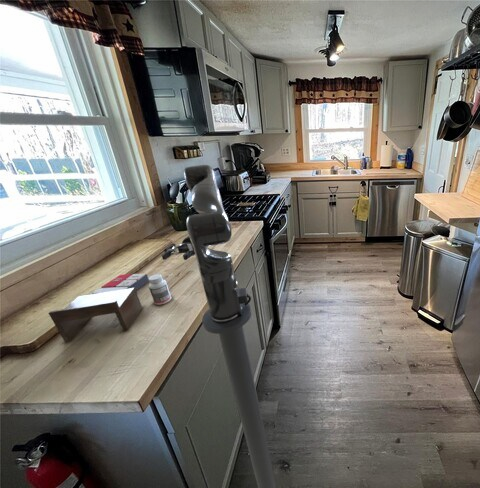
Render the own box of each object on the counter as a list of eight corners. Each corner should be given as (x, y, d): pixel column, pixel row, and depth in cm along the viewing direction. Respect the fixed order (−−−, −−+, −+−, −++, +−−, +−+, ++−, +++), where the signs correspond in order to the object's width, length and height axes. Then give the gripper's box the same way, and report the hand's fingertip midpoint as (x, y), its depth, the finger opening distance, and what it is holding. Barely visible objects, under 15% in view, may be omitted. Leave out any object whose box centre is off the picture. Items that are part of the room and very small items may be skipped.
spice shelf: (142, 307, 89) (132, 281, 85) (127, 330, 78) (115, 301, 74) (87, 316, 85) (74, 289, 81) (64, 342, 74) (48, 313, 70)
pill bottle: (156, 298, 94) (148, 274, 90) (173, 295, 95) (165, 271, 91) (152, 306, 89) (143, 282, 85) (170, 303, 90) (162, 279, 87)
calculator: (147, 272, 104) (120, 291, 90) (149, 281, 106) (124, 302, 92) (119, 273, 104) (88, 293, 90) (123, 283, 106) (93, 303, 92)
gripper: (179, 233, 112) (153, 248, 97) (210, 232, 110) (189, 248, 96) (183, 248, 115) (158, 266, 100) (214, 248, 113) (193, 266, 99)
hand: (173, 257), depth 98 cm, fingers open, 8 cm apart
